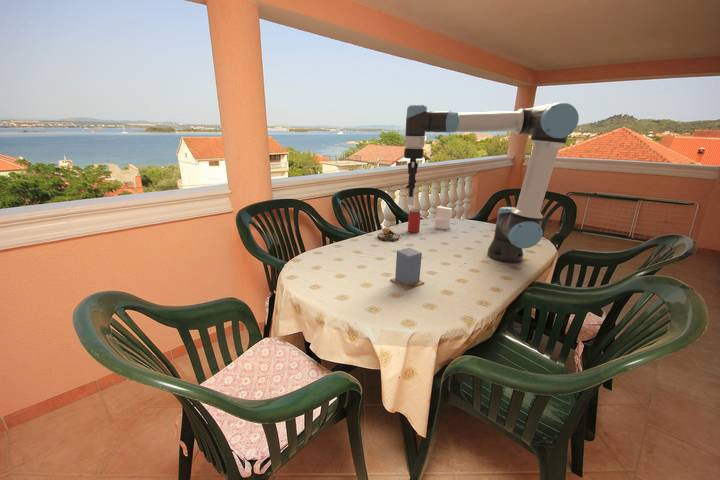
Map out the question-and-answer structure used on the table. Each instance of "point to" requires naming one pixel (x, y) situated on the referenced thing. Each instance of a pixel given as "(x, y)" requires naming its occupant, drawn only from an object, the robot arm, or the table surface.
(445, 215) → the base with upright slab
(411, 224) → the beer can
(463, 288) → the table surface
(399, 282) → the post
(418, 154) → the robot arm
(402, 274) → the notched grey prism
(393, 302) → the table surface
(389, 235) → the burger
